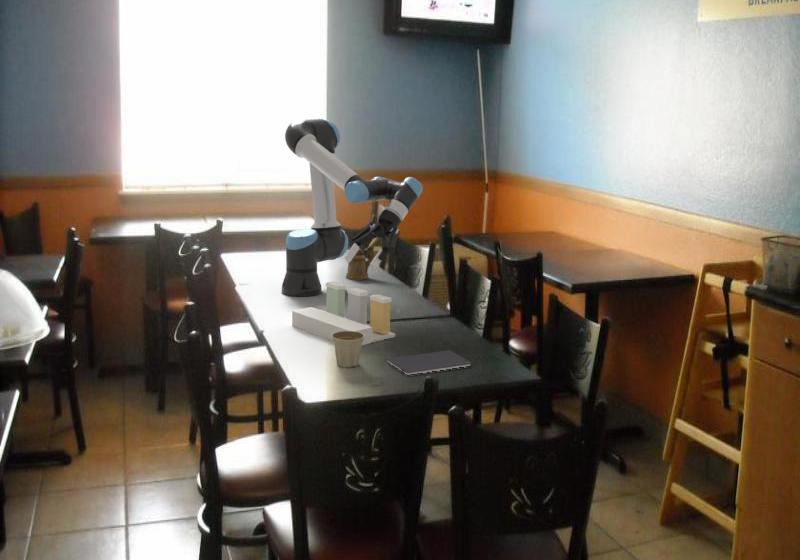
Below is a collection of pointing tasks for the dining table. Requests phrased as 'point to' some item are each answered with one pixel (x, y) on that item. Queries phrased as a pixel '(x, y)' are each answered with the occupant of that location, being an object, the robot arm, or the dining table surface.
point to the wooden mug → (361, 263)
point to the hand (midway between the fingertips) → (359, 263)
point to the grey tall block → (357, 305)
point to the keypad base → (333, 325)
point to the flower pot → (347, 347)
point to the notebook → (428, 362)
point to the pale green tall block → (335, 298)
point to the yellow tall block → (380, 313)
